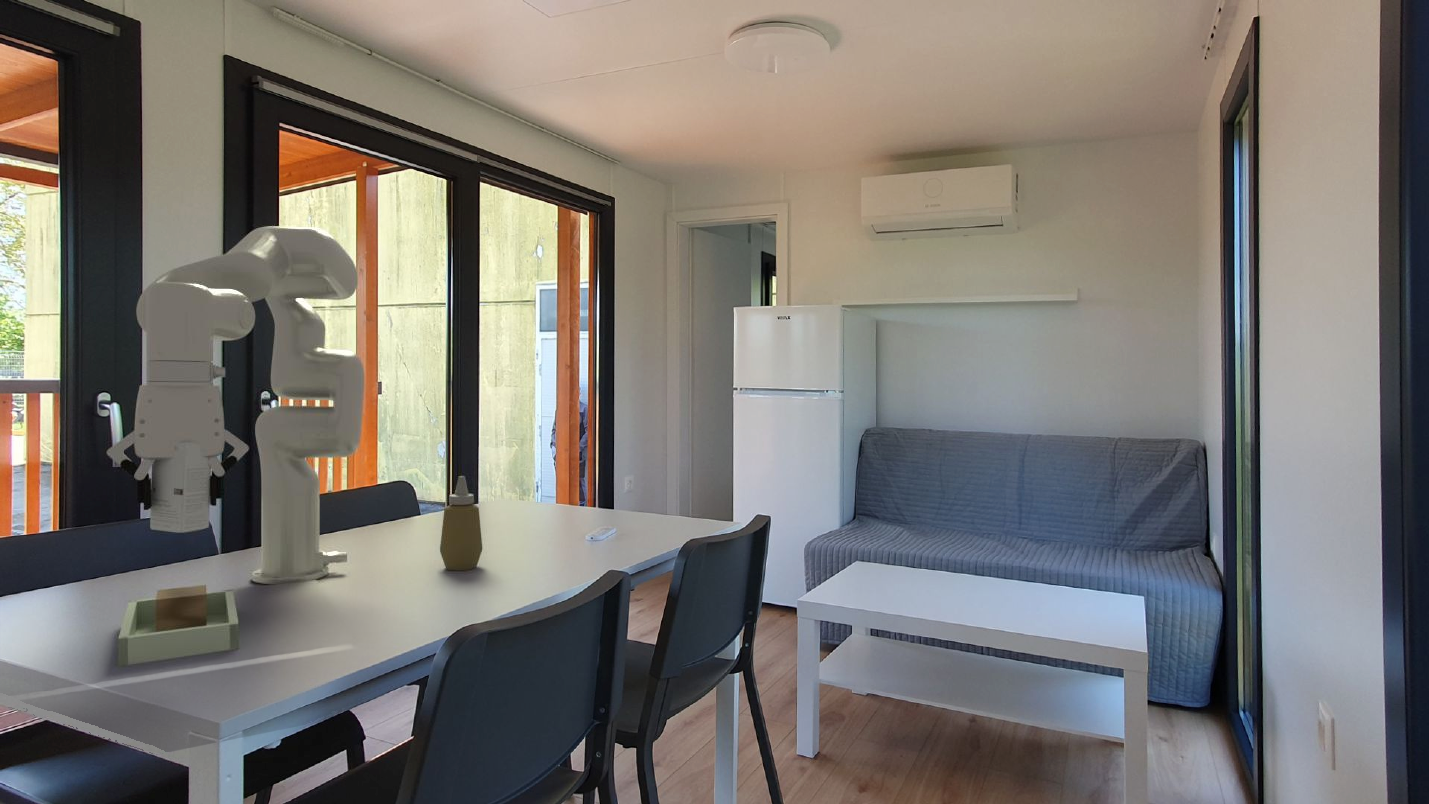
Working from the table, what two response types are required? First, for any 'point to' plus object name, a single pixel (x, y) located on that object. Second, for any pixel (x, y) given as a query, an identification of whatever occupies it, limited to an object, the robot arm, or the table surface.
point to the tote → (177, 632)
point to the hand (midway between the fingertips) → (180, 505)
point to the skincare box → (181, 490)
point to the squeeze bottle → (461, 530)
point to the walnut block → (181, 608)
